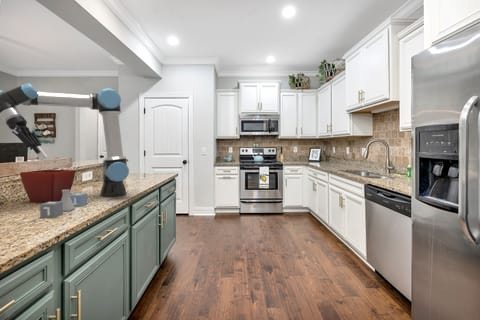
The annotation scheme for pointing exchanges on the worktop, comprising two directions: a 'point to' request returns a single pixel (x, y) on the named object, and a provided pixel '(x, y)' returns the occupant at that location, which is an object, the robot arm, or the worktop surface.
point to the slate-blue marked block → (79, 199)
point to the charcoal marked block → (51, 209)
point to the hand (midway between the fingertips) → (44, 158)
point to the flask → (67, 201)
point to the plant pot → (47, 184)
